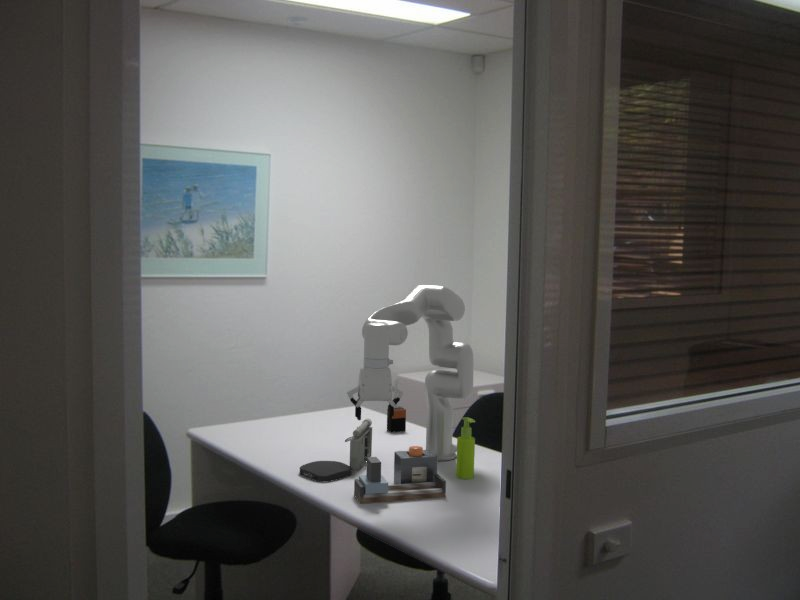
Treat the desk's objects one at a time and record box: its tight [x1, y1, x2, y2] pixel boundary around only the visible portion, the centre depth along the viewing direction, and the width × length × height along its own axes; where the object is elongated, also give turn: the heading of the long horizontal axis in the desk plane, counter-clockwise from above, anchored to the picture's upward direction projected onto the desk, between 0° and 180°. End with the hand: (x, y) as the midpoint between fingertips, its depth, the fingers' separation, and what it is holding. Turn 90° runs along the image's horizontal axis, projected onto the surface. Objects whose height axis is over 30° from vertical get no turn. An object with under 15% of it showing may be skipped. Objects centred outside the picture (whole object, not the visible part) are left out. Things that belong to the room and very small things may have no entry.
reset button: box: [408, 445, 424, 457], centre depth 259 cm, size 4×4×4 cm
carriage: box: [358, 456, 389, 494], centre depth 245 cm, size 7×9×9 cm
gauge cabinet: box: [393, 449, 438, 485], centre depth 259 cm, size 12×8×10 cm
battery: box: [386, 405, 407, 433], centre depth 328 cm, size 4×7×10 cm, turn 116°
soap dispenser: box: [455, 416, 476, 480], centre depth 268 cm, size 6×7×20 cm
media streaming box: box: [299, 460, 353, 483], centre depth 269 cm, size 15×15×3 cm
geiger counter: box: [344, 418, 373, 472], centre depth 284 cm, size 14×6×25 cm
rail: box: [353, 473, 447, 504], centre depth 248 cm, size 27×8×5 cm, turn 106°
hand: (374, 419), depth 246 cm, fingers open, 9 cm apart
